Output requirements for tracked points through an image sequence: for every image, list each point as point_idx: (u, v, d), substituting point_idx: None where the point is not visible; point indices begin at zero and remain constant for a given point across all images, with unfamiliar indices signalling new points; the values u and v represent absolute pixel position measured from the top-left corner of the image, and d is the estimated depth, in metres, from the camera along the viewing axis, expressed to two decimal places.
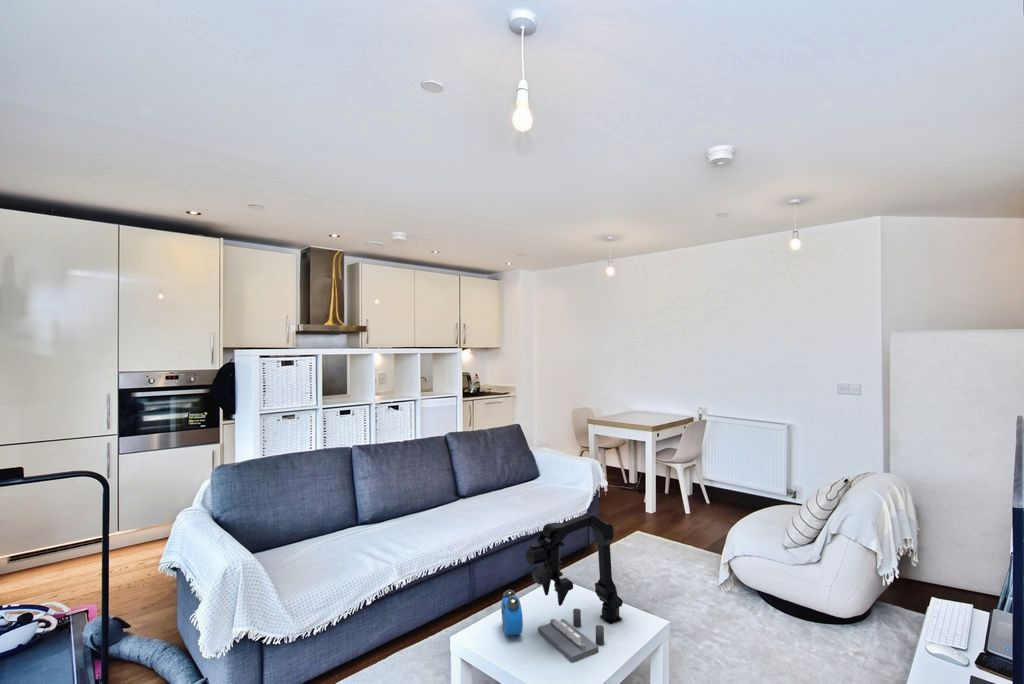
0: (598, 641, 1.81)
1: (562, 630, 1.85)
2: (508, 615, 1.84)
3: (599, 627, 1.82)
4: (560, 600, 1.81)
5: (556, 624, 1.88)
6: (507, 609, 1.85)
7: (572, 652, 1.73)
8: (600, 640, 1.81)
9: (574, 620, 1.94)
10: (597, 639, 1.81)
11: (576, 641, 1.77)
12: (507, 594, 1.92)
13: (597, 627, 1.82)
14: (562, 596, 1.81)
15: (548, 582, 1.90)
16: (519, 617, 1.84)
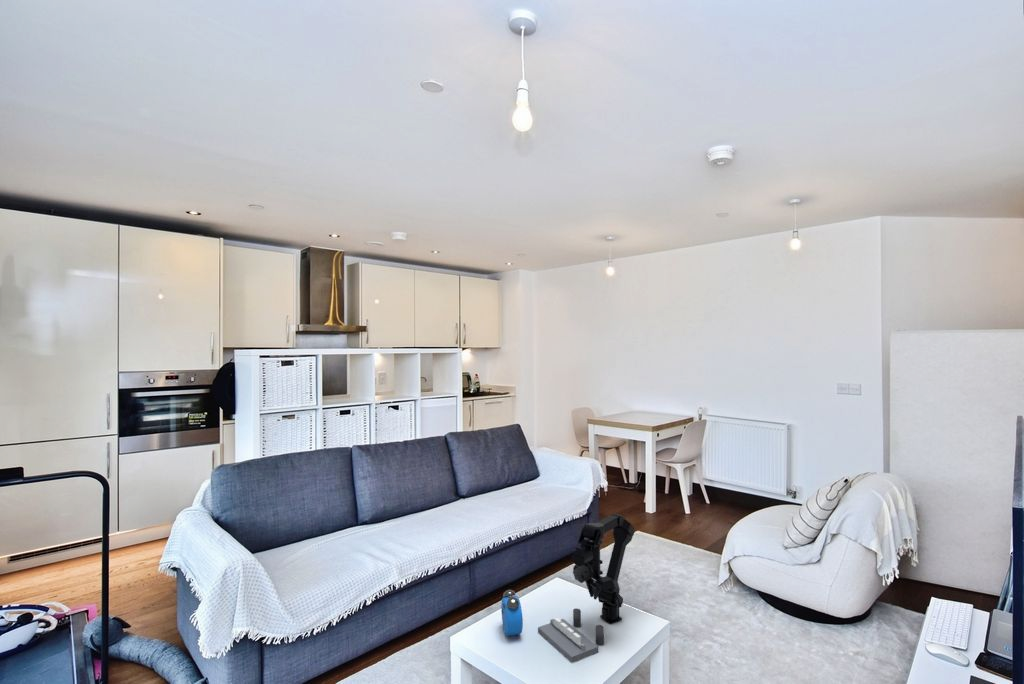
0: (598, 641, 1.81)
1: (562, 630, 1.85)
2: (508, 615, 1.84)
3: (599, 627, 1.82)
4: (595, 594, 1.88)
5: (556, 624, 1.88)
6: (507, 609, 1.85)
7: (572, 652, 1.73)
8: (600, 640, 1.81)
9: (574, 620, 1.94)
10: (597, 639, 1.81)
11: (576, 641, 1.77)
12: (507, 594, 1.92)
13: (597, 627, 1.82)
14: (597, 590, 1.88)
15: None
16: (519, 617, 1.84)
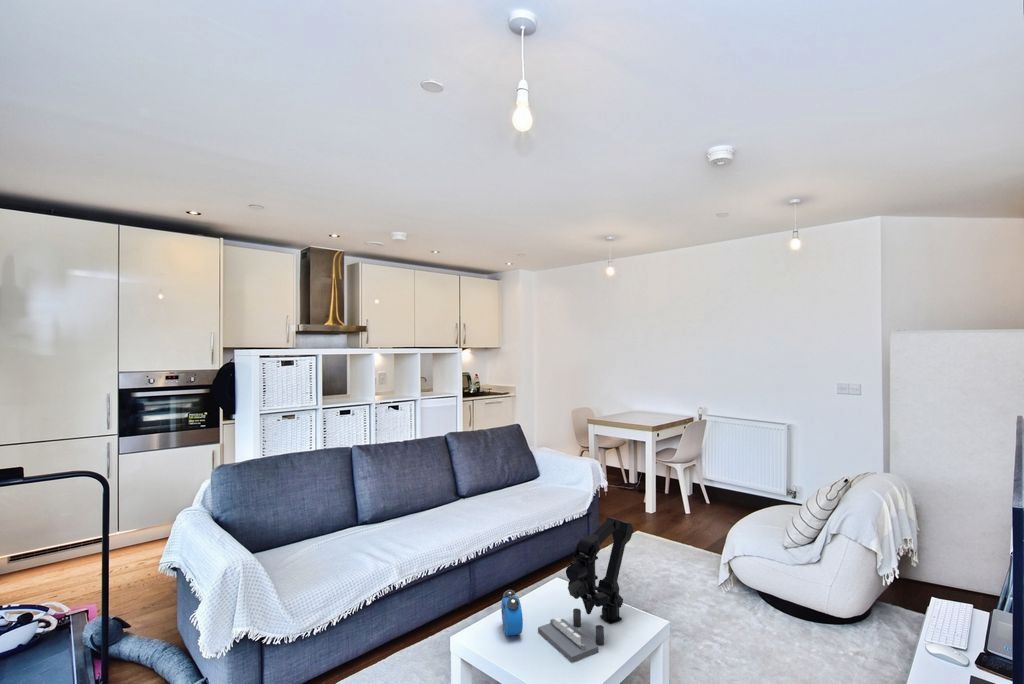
0: (598, 641, 1.81)
1: (562, 630, 1.85)
2: (508, 615, 1.84)
3: (600, 627, 1.82)
4: (589, 609, 1.87)
5: (556, 624, 1.88)
6: (507, 609, 1.85)
7: (572, 652, 1.73)
8: (600, 640, 1.81)
9: (574, 620, 1.94)
10: (597, 639, 1.81)
11: (576, 641, 1.77)
12: (507, 594, 1.92)
13: (597, 627, 1.82)
14: (591, 605, 1.88)
15: None
16: (519, 617, 1.84)
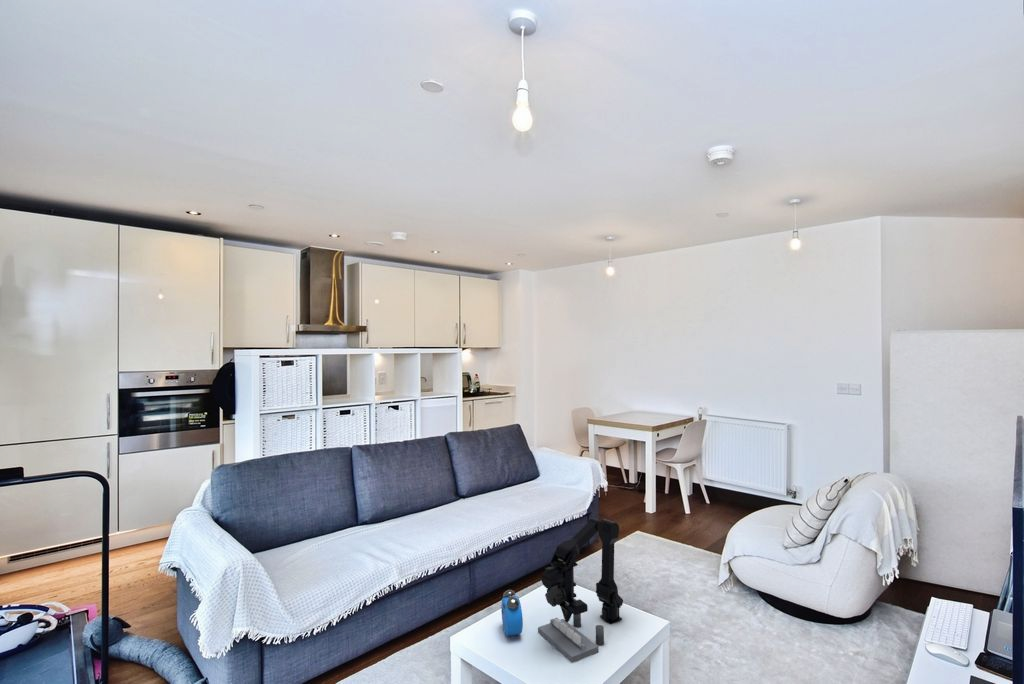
0: (598, 641, 1.81)
1: (562, 630, 1.85)
2: (508, 615, 1.84)
3: (599, 627, 1.82)
4: (567, 617, 1.82)
5: (556, 624, 1.88)
6: (507, 609, 1.85)
7: (572, 652, 1.73)
8: (600, 640, 1.81)
9: (574, 620, 1.94)
10: (597, 639, 1.81)
11: (576, 641, 1.77)
12: (507, 594, 1.92)
13: (597, 627, 1.82)
14: (569, 613, 1.83)
15: None
16: (519, 617, 1.84)
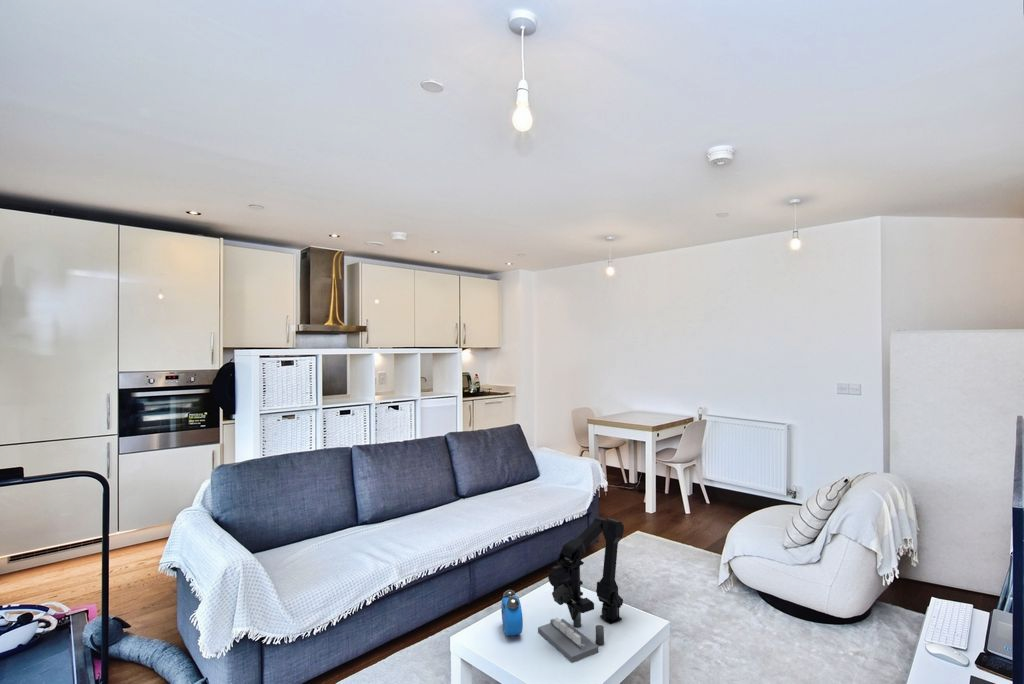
0: (598, 641, 1.81)
1: (562, 630, 1.85)
2: (508, 615, 1.84)
3: (600, 627, 1.82)
4: (574, 615, 1.84)
5: (556, 624, 1.88)
6: (507, 609, 1.85)
7: (572, 652, 1.73)
8: (600, 640, 1.81)
9: (574, 620, 1.94)
10: (597, 639, 1.81)
11: (576, 641, 1.77)
12: (507, 594, 1.92)
13: (597, 627, 1.82)
14: (576, 611, 1.84)
15: None
16: (519, 617, 1.84)
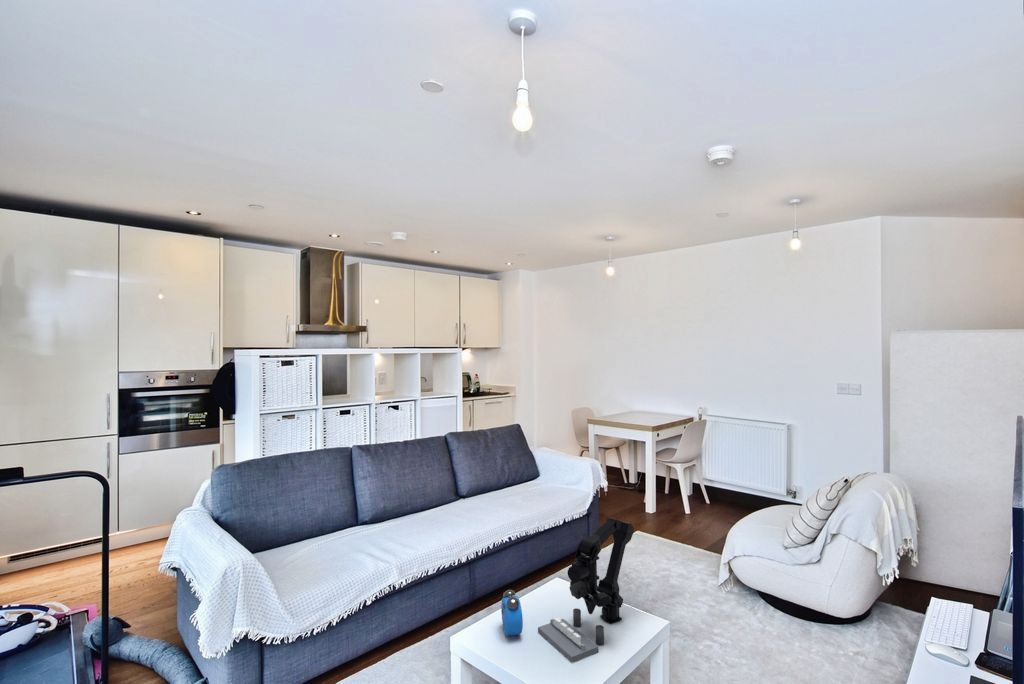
0: (598, 641, 1.81)
1: (562, 630, 1.85)
2: (508, 615, 1.84)
3: (600, 627, 1.82)
4: (591, 609, 1.88)
5: (556, 624, 1.88)
6: (507, 609, 1.85)
7: (572, 652, 1.73)
8: (600, 640, 1.81)
9: (574, 620, 1.94)
10: (597, 639, 1.81)
11: (576, 641, 1.77)
12: (507, 594, 1.92)
13: (597, 627, 1.82)
14: (593, 605, 1.88)
15: None
16: (519, 617, 1.84)
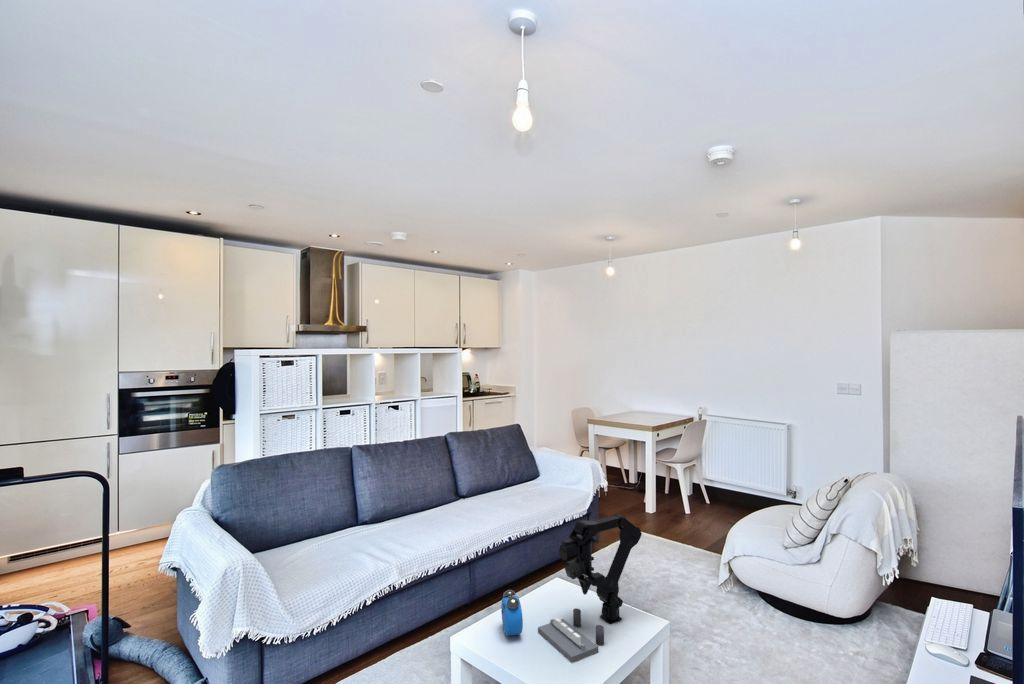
0: (598, 641, 1.81)
1: (562, 630, 1.85)
2: (508, 615, 1.84)
3: (600, 627, 1.82)
4: (585, 589, 1.92)
5: (556, 624, 1.88)
6: (507, 609, 1.85)
7: (572, 652, 1.73)
8: (600, 640, 1.81)
9: (574, 620, 1.94)
10: (597, 639, 1.81)
11: (576, 641, 1.77)
12: (507, 594, 1.92)
13: (597, 627, 1.82)
14: (587, 585, 1.92)
15: None
16: (519, 617, 1.84)
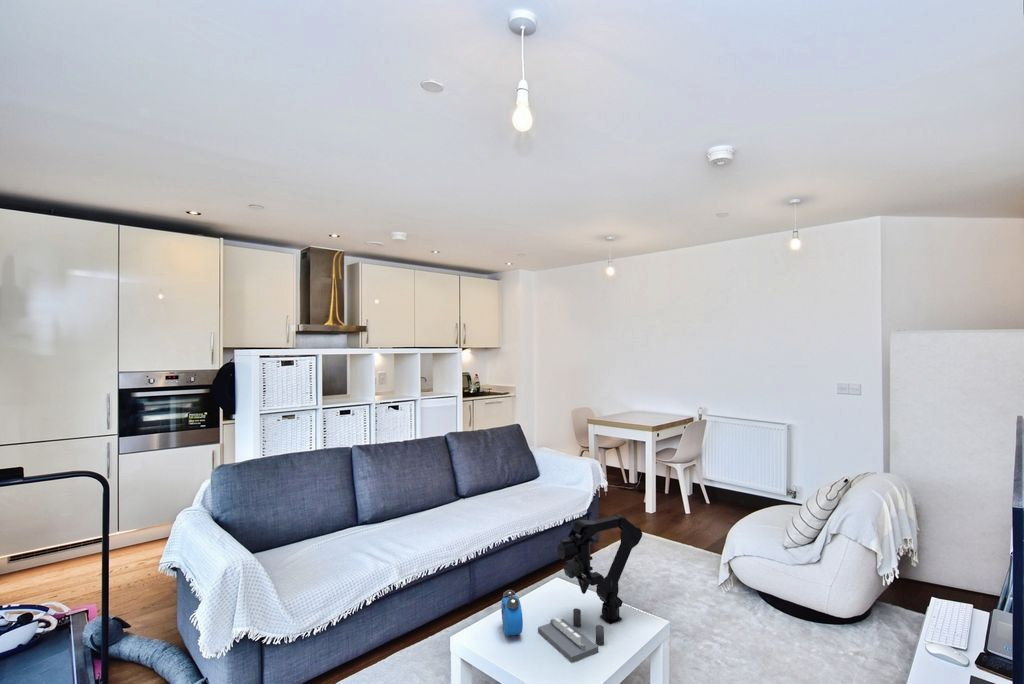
0: (598, 641, 1.81)
1: (562, 630, 1.85)
2: (508, 615, 1.84)
3: (599, 627, 1.82)
4: (584, 588, 1.93)
5: (556, 624, 1.88)
6: (507, 609, 1.85)
7: (572, 652, 1.73)
8: (600, 640, 1.81)
9: (574, 620, 1.94)
10: (597, 639, 1.81)
11: (576, 641, 1.77)
12: (507, 594, 1.92)
13: (597, 627, 1.82)
14: (586, 585, 1.93)
15: None
16: (519, 617, 1.84)
